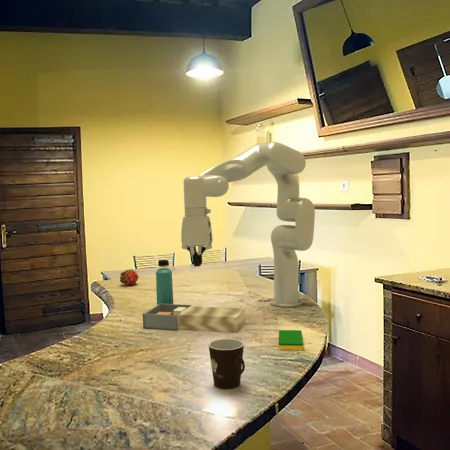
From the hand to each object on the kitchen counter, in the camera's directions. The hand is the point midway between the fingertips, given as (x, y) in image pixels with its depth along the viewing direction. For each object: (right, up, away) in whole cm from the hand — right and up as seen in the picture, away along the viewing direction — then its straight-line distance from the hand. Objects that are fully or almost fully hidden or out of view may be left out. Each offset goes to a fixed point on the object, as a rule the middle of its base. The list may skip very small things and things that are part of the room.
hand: (197, 265), depth 178 cm
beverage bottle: (-14, -20, +22) cm, 32 cm away
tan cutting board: (+5, -21, 0) cm, 21 cm away
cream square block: (-5, -18, +2) cm, 18 cm away
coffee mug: (+10, -25, -53) cm, 59 cm away
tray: (-11, -21, +5) cm, 24 cm away
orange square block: (-12, -17, +4) cm, 22 cm away
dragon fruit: (-37, -16, +75) cm, 85 cm away
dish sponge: (+29, -23, -20) cm, 42 cm away
